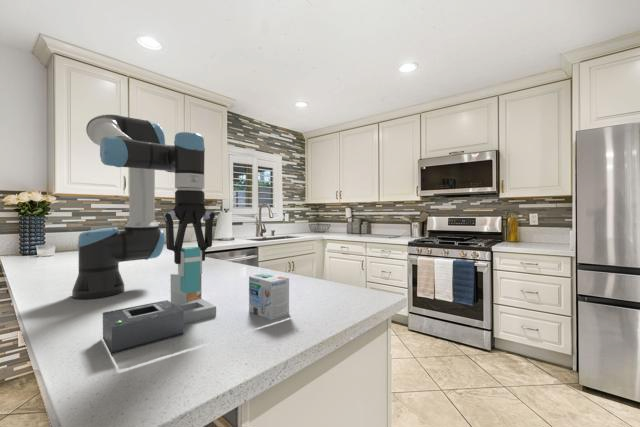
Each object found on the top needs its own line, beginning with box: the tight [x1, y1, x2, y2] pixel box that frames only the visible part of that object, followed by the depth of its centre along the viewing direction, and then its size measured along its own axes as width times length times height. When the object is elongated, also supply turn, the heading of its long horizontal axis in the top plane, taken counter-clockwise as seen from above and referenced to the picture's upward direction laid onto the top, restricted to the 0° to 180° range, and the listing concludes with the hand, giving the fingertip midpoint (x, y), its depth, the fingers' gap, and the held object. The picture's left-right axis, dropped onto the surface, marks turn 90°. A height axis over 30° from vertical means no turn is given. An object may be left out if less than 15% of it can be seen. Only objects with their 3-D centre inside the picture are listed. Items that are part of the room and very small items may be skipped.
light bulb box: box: [248, 272, 290, 321], centre depth 85 cm, size 11×7×11 cm, turn 47°
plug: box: [180, 246, 200, 294], centre depth 83 cm, size 4×4×12 cm
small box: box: [170, 272, 202, 305], centre depth 94 cm, size 8×6×10 cm
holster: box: [175, 298, 217, 325], centre depth 83 cm, size 10×10×3 cm
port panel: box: [102, 299, 185, 357], centre depth 70 cm, size 12×14×6 cm
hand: (190, 273), depth 83 cm, fingers closed on plug, 4 cm apart
